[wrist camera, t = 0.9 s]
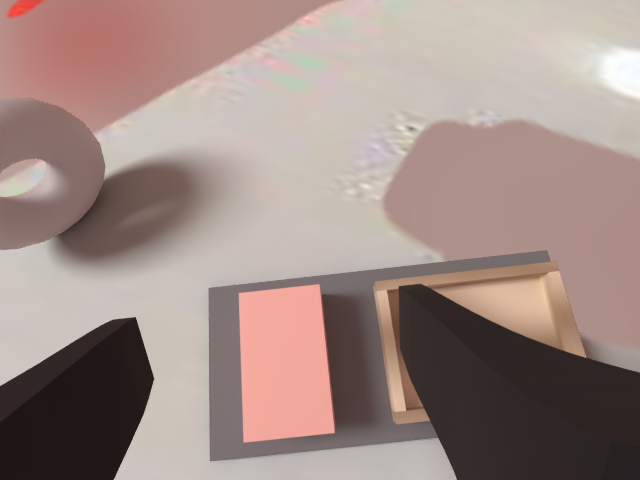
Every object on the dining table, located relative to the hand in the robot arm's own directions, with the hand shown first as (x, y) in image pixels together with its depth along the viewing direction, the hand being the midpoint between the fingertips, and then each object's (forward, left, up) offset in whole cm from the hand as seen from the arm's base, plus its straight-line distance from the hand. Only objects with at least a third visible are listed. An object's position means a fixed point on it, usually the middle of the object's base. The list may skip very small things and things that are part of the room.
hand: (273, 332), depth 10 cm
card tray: (0, -10, -13) cm, 17 cm away
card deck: (0, +1, -13) cm, 13 cm away
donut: (+12, +16, -14) cm, 25 cm away
